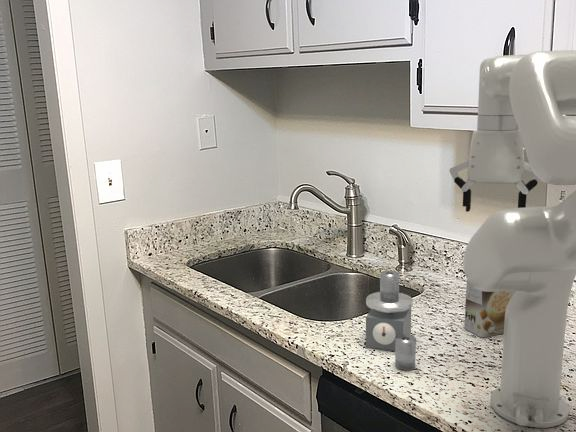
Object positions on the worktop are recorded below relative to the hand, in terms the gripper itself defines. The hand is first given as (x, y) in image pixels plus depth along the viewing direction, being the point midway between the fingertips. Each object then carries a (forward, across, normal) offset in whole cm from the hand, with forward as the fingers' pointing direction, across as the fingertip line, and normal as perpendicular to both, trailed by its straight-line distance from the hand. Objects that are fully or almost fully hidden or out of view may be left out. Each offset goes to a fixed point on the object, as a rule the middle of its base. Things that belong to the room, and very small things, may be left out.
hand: (493, 211), depth 118 cm
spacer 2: (+30, +15, +11) cm, 36 cm away
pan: (+23, +20, 0) cm, 31 cm away
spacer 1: (+21, +20, 0) cm, 29 cm away
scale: (+30, +20, 0) cm, 37 cm away
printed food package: (+31, 0, -12) cm, 33 cm away
